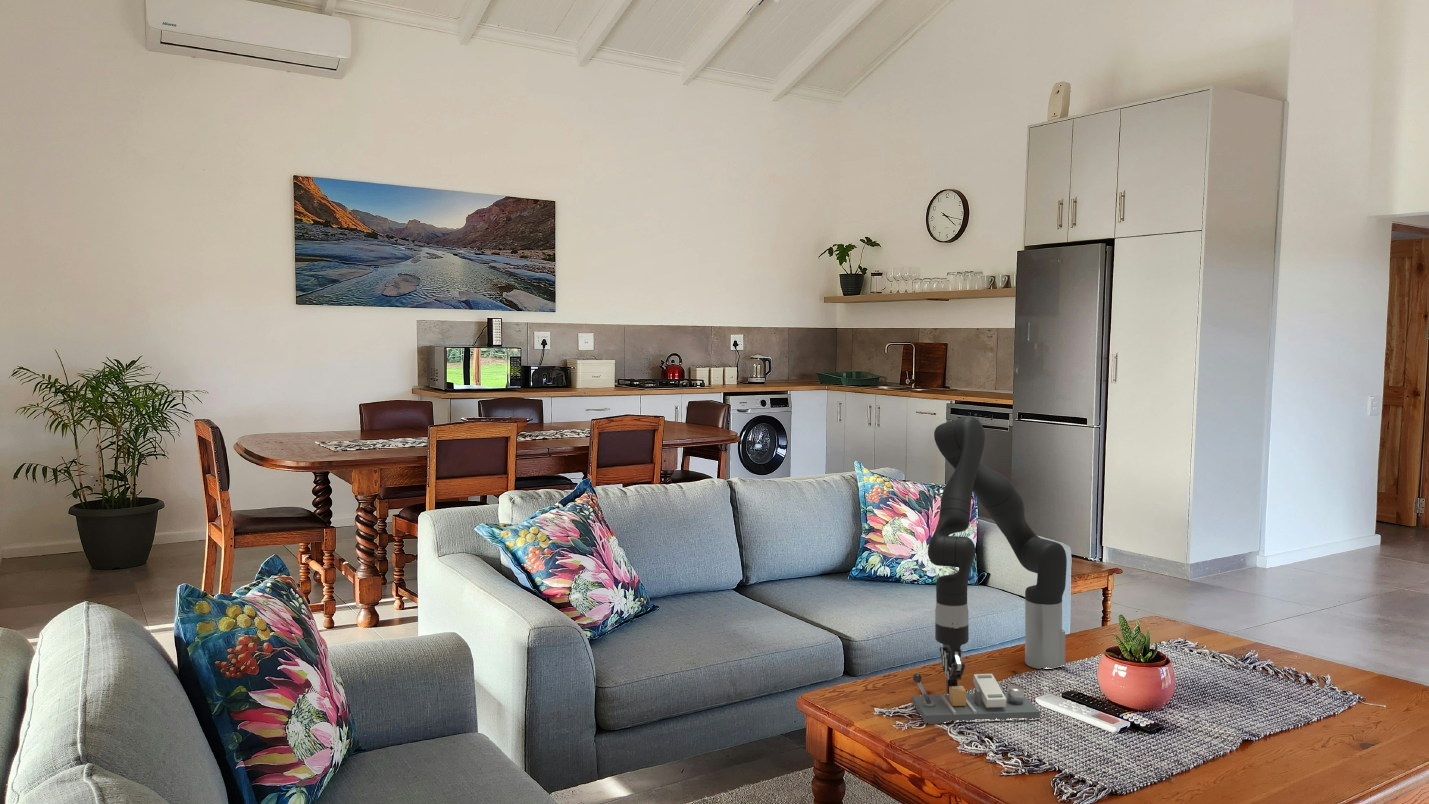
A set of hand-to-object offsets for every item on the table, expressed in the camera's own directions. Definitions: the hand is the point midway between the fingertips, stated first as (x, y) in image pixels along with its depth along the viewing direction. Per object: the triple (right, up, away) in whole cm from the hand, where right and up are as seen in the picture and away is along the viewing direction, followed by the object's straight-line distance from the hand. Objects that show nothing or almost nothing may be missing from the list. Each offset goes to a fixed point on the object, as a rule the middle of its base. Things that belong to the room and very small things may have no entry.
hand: (952, 693), depth 220 cm
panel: (+4, -3, -3) cm, 6 cm away
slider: (0, -1, -4) cm, 4 cm away
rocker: (+8, +2, -3) cm, 9 cm away
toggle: (-6, -1, -4) cm, 7 cm away
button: (+14, -1, -3) cm, 14 cm away
